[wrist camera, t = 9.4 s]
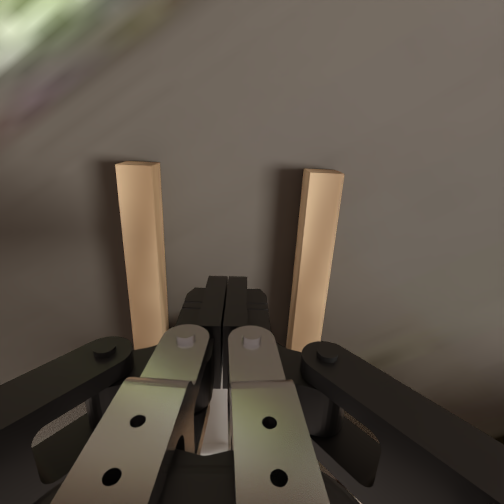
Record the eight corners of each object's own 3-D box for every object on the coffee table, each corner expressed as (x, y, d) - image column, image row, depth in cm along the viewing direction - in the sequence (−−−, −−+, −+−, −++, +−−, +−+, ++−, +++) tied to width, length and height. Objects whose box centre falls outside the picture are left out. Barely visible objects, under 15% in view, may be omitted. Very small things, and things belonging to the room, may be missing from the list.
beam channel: (335, 169, 20) (346, 174, 18) (300, 434, 29) (305, 459, 26) (126, 160, 20) (112, 164, 18) (151, 434, 28) (143, 459, 26)
